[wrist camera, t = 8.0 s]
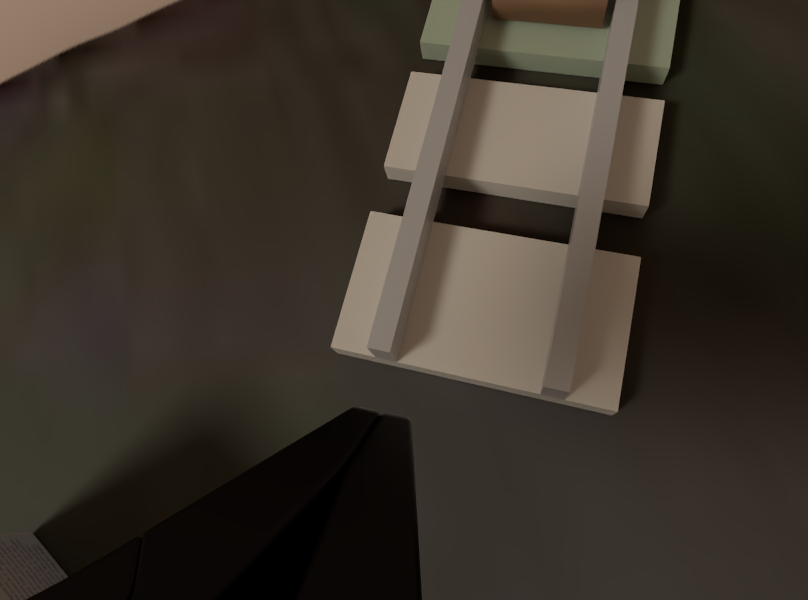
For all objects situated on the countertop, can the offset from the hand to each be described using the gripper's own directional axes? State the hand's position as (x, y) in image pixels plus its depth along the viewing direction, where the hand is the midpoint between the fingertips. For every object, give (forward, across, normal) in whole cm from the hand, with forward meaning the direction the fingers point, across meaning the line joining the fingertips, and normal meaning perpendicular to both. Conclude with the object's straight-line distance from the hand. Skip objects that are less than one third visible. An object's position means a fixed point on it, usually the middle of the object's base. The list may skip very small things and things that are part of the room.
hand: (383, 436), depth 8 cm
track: (+18, 0, -1) cm, 18 cm away
